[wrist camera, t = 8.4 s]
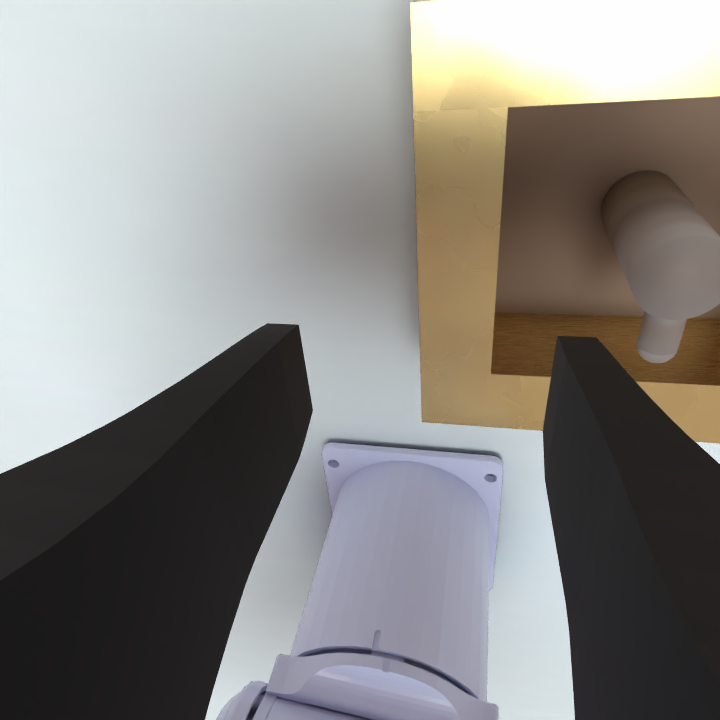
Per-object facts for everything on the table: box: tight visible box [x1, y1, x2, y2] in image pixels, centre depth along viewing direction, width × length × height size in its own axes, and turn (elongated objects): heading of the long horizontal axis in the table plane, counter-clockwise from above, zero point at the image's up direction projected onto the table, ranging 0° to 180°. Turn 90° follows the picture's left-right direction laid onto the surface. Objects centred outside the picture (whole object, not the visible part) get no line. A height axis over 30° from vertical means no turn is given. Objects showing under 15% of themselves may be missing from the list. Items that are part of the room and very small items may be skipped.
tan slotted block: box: [410, 0, 720, 443], centre depth 14 cm, size 11×11×4 cm
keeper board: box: [495, 96, 720, 363], centre depth 14 cm, size 14×11×6 cm
